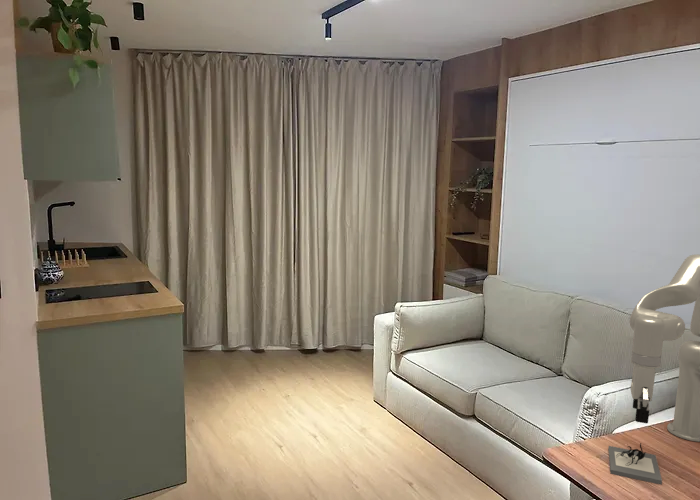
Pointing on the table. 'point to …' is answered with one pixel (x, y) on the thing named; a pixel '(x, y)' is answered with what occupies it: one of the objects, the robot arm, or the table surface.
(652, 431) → the table surface
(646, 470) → the grey picture mat
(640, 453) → the creature
